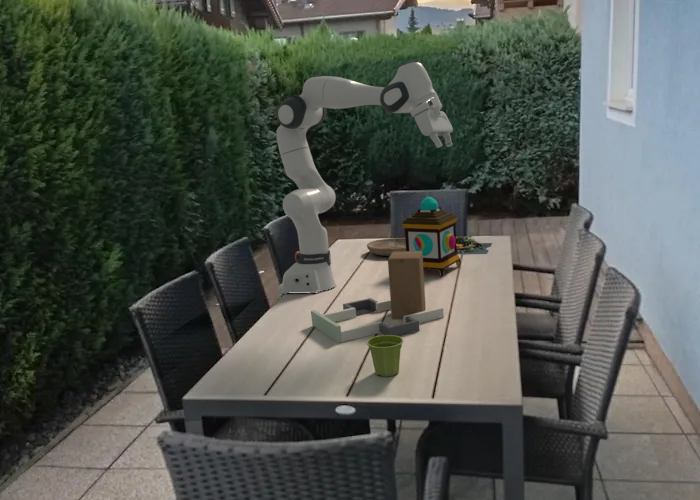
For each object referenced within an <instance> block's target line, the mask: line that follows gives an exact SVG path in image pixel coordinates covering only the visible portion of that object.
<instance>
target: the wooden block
mask: <svg viewBox="0 0 700 500" xmlns="http://www.w3.org/2000/svg"><path fill="white" fill-rule="evenodd" d="M387 267H388V268H387V269H388V270H387V271H388V280H389V281H388V283H389V296H390V299H391V309H390V310H391V319H393V320H401V319H402V320H403V316H406V315H410V314H415V313H419V312H423V311H426V294H425V289H426V288H425V273H424V269H423V253H422V251H405V252H392V254H391V255H390V256H388V259H387ZM390 299H389V300H390Z"/></svg>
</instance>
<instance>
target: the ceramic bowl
mask: <svg viewBox="0 0 700 500" xmlns="http://www.w3.org/2000/svg"><path fill="white" fill-rule="evenodd" d="M366 248H367V249H368V251H370V252H371V253H373V254H375V255H377V256H382V257H390V255H391V254H392V252H405V251H406V240H405V238H400V237H395V238H394V237H393V238H383V239H377V240H373V241H370V242H368V243H367V244H366Z"/></svg>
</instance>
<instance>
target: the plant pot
mask: <svg viewBox="0 0 700 500" xmlns="http://www.w3.org/2000/svg"><path fill="white" fill-rule="evenodd" d="M403 343H404V338H402V337H401V336H395V335H383V334H381V335H376V336H373V337H371V338H368V339H367V341H366V345H367V347H368V349H369V351H370V354H371V358H372V364H373V369H374V372H375V375H377V376H379V375H380V376H381V377H385V378H386V377H393V376H395V375H396V374H398V373H399V372H400V360H401V348H402V345H403Z"/></svg>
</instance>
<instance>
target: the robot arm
mask: <svg viewBox="0 0 700 500" xmlns="http://www.w3.org/2000/svg"><path fill="white" fill-rule="evenodd" d="M369 105H371V106H372V105H373V106H381V107H382V109H383V110H384V111H386V112H387V113H392V114H410V115H411V117H412V118H414V121H415V122H416V124H417V127H418V128H419V130H420V133H421V134H422V135H423V136H424V137H426V136H427V137H430V140H432V142H433V143H434V145H435V148H437V149H438V148H441V147H443V142H442V140H441V139H440V138H439V136H442V138H444V141H445V142H444V144H445V146H446V147H447V148H450V147H452V146H453V145H454V144H453V142H452V138H451V137H452V136H451V133H453V131H454V129H453V126H452V124H451V121H450V119H449V118H448V115H447V114H446V113H445V112H444V111H441V109H442V108H443V104H442V102H441V101H440V98H439V96H438V93H437V92H436V91H435V89H434V88H433V82H432V80H431V78H430V76H429V74H428V71H427V70H426V68H425V67H424V65H423V64H422V63H421V62H417V61H409V62H407V63H404V64H402V65H401V66H399V67H398V69H397V71H396V74H395V76H394V78H393V79H391V81H390V82H389V83H388V85H386V86H385V87H384V86H372V85H368V84H366V83H365V84H364V83H361V82H358V81H354V80H352V79H348V78H345V77H344V78H343V77H341V76H330V75H329V76H328V75H325V76H323V75H322V76H315V77H310V78H308V79H307V80H305V82H304V84H303V86H302V92H301V94H300V95H299V94H294V95H292V96H291V97H289V98H287V99H285V100H283V101H282V102H281V103H279V105H278V106H277V108H276V118H277V121H278V123H279V124H280V125H279V126H278V127H277V130H276V141H277V142H276V143H277V146H278V152H279V155H280V158H281V162H282V164H283V168H284V172H285V174H286V176H287V178H289V179H291V180H292V181H293V182H294V184H296V187H298V189H295V190H293V191H291V192H289V193H288V194H287V195H285V197H284V198H283V200H282V209H283V211H284V214H285V215H286V216H287V217H288V218H289V219H290V220H292V223H293V224H294V227H295V229H296V232H297V239H298V246H299V251H296V252H295V254H294V261H295V263H293V264H292V265H291V266H290V267H289V268H288V269H287V270H286V271H285V272H284V274H283V277H282V283H281V284H280V285H278V286H277V293H278V294H282V295H286V294H287V293H289V292H310V293H316V292H319V293H321V292H320V291H322V292H324V291H323V290H325V291H329V290H331V288H332V289H334V288H336V286H337V284H336V283H337V282H336V281H335V279H334V275H333V271H332V266H331V265H332V255H331V250H330V249H329V239H328V231H327V229H326V228H325V227H324V226H323V225H322V224H321V222H320V221H321V220H320V218H319V214H322V213H325V212H327V211H328V210H330V209H331V208H332V207H333V206H334V205H335V203H336V200H337V199H336V192H335V190H334V189H333V188H332V187H331V186H330V185H328V184H327V183H326V182H325V181H324V179H323V178H322V176H321V175H320V173H319V171H318V169H317V168H316V165H315V163H314V159H313V156H312V153H311V149H310V146H309V143H308V140H307V132H308V131H313V130H314V129H315V128H317V126H319V125H320V124H322V123H323V121H324V120H326V117H327V113H328V112H327V110H328V109H331V110H333V109H334V110H335V109H336V110H337V109H340V110H341V109H349V108H350V109H351V108H355V107H361V106H369ZM335 285H336V286H335ZM333 287H334V288H333ZM328 289H329V290H328ZM316 294H317V293H316ZM287 295H288V294H287Z"/></svg>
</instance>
